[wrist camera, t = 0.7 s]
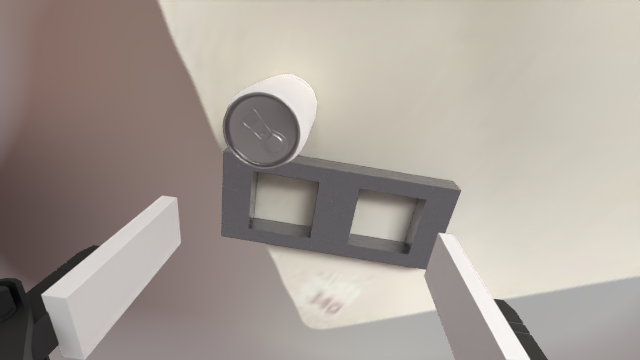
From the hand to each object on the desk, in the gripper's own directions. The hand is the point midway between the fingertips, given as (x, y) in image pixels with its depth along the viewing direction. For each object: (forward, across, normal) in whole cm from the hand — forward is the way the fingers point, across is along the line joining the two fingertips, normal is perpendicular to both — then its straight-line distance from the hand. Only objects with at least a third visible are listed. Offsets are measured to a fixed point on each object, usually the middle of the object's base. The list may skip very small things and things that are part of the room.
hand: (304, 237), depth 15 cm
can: (+20, -4, +3) cm, 21 cm away
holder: (+20, +2, -8) cm, 22 cm away
